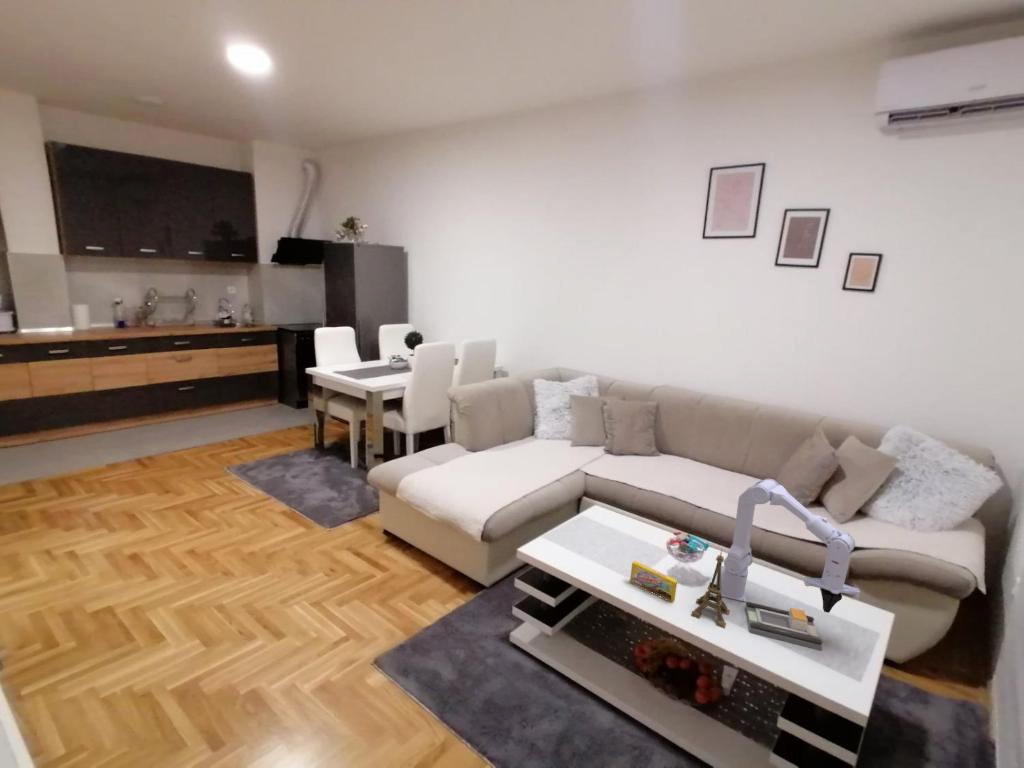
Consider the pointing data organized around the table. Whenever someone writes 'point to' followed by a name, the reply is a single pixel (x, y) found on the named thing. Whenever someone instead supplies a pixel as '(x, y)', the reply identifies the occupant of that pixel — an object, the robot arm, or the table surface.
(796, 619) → the orange-faced white block
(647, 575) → the candy box
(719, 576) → the eiffel tower
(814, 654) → the table surface
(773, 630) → the panel
